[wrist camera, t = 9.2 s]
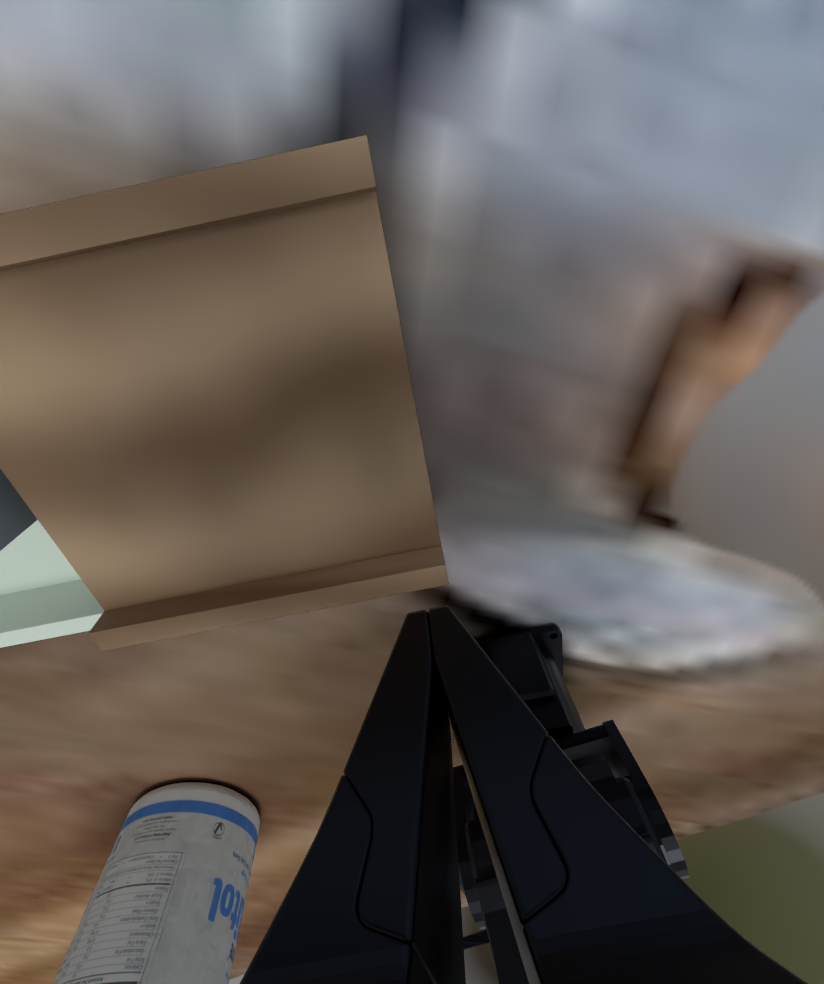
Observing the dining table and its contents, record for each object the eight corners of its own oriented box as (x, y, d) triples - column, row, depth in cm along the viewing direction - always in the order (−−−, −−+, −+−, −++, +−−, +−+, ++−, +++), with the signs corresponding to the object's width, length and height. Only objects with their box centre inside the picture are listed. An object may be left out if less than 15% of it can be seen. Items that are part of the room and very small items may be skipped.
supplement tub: (281, 825, 36) (232, 1142, 24) (173, 850, 37) (68, 1172, 24) (226, 763, 32) (127, 1119, 19) (103, 792, 32) (-73, 1156, 19)
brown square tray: (432, 507, 22) (448, 584, 17) (161, 560, 23) (101, 650, 18) (368, 168, 15) (366, 135, 10) (-23, 252, 16) (-207, 258, 11)
